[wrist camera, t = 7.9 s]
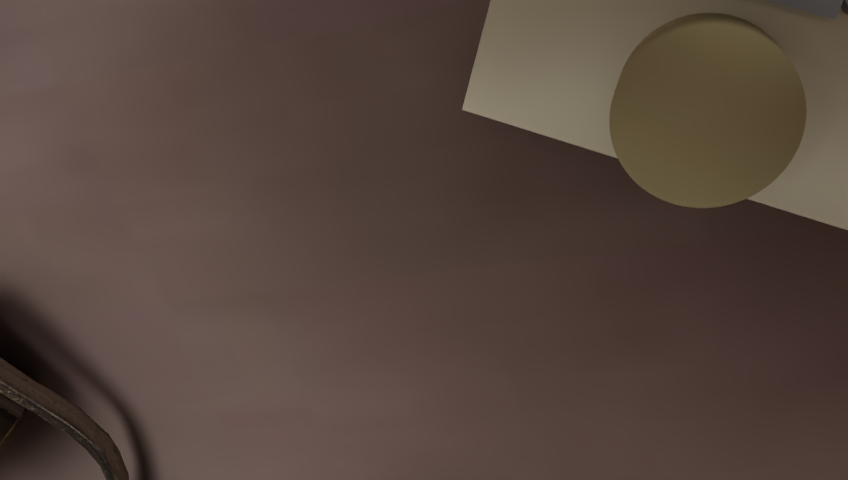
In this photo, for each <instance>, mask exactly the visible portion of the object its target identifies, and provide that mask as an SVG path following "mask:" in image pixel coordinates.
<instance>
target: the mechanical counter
mask: <svg viewBox="0 0 848 480" xmlns="http://www.w3.org/2000/svg"><path fill="white" fill-rule="evenodd" d="M28 410H30V411H31V412H33V413H35V414H36V415H38V416H40V417H41V418H43V419H44V420H46V421H47V422H49V423H50V424H52V425H53V426H55V427H56V428H58V429H60V430H61V431H63V432H65V433H66V434H68V435H69V436H71V437H72V438H73V439H75V440H76V441H77V442H78V443H79V444H81V445H82V446H83V447H84V448H85V449H87V451H88V452H89V453H90V454H91V456H92V457H93V458H94V459H95V460H96V462H97V463H98V464H99V465H100V467H101V469H102V471H103V473H104V476H105V478H106V480H129V474H128V472H127V469H126V467H125V464H124V462H123V459H122V457H121V454H120V451H119V450H118V448H117V446H116V445H115V443H114V442H113V440H112V439H111V437H110V436H109V434H108V433H106V432H105V431H104V430H103V429H102V428H101V427H100V426H99V425H98V424H97V423H95V422H94V421H93V420H92V419H91V418H90V417H89V416H88V415H87V414H86V413H85V412H83V411H82V410H81V409H80V408H79V407H77V406H76V405H74V404H73V403H71V402H70V401H68V400H67V399H65V398H64V397H62V396H60V395H59V394H57V393H56V392H54V391H53V390H51V389H49V388H47V387H45V386H43V385H41V384H40V383H38V382H36V381H34V380H32V379H31V378H29V377H28V376H27V375H25V374H24V373H22V372H21V371H19V370H18V369H16V368H15V367H13V366H12V365H11V364H9V363H8V362H6V361H5V360H3V359H2V358H0V450H1V449H2V447H3V446H4V445H5V443H6V442H7V440H8V439H9V438H10V436H11V435H12V434H13V432H14V431H15V429H16V428H17V426H18V424H19V423H20V422H21V420H22V419H23V418H24V416H25V415H26V414H27V412H28Z"/></svg>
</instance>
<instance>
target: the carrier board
mask: <svg viewBox="0 0 848 480" xmlns="http://www.w3.org/2000/svg"><path fill="white" fill-rule="evenodd" d="M462 110H465V111H468V112H471V113H474V114H477V115H481V116H484V117H487V118H490V119H493V120H497V121H500V122H503V123H506V124H509V125H513V126H516V127H519V128H522V129H525V130H529V131H532V132H535V133H538V134H541V135H545V136H548V137H551V138H554V139H557V140H561V141H564V142H567V143H570V144H573V145H576V146H580V147H583V148H586V149H589V150H592V151H596V152H599V153H602V154H605V155H608V156H612V157H615V158H618V160H619V162H620V163H621V165H622V166H623V168H624V170H625V171H626V172H627V173H628V175H629V176H630V177H631V178H632V179H633V180H634V181H635V182H636V183H637V184H638V185H639V186H640V187H641V188H643V189H644V190H646V191H647V192H648V193H650V194H652V195H653V196H655V197H657V198H659V199H661V200H664V201H666V202H669V203H672V204H675V205H679V206H684V207H692V208H713V207H721V206H725V205H730V204H733V203H736V202H739V201H742V200H745V199H749V200H752V201H756V202H759V203H762V204H765V205H768V206H772V207H775V208H778V209H781V210H784V211H788V212H791V213H794V214H797V215H800V216H804V217H807V218H810V219H813V220H816V221H820V222H823V223H826V224H829V225H832V226H836V227H839V228H842V229H845V230H848V0H491V1H490V5H489V9H488V13H487V16H486V20H485V24H484V28H483V32H482V35H481V39H480V43H479V47H478V51H477V54H476V58H475V62H474V66H473V70H472V73H471V77H470V81H469V85H468V89H467V93H466V96H465V100H464V104H463V108H462Z"/></svg>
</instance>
